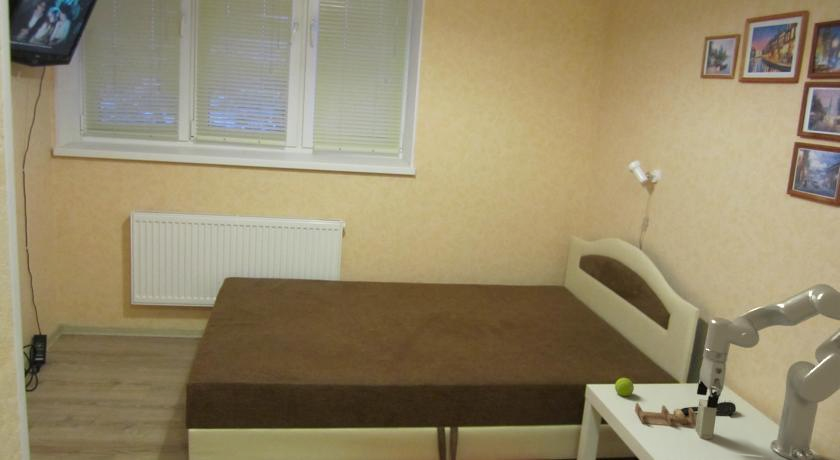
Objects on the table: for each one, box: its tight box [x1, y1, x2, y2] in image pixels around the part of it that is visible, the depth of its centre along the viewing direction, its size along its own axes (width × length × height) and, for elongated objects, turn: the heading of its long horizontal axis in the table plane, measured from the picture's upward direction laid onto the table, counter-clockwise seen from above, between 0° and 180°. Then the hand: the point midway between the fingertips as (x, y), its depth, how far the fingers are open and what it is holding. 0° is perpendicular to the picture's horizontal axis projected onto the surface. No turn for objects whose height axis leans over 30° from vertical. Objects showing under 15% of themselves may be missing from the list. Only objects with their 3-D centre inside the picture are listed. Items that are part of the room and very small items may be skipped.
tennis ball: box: [614, 377, 635, 397], centre depth 255 cm, size 7×7×7 cm
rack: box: [634, 402, 697, 429], centre depth 236 cm, size 10×20×4 cm, turn 86°
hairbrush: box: [680, 399, 737, 417], centre depth 245 cm, size 8×4×25 cm
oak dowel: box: [672, 408, 688, 425], centre depth 236 cm, size 7×3×3 cm, turn 176°
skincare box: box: [694, 399, 718, 440], centre depth 226 cm, size 6×4×12 cm
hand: (706, 400), depth 225 cm, fingers open, 9 cm apart
